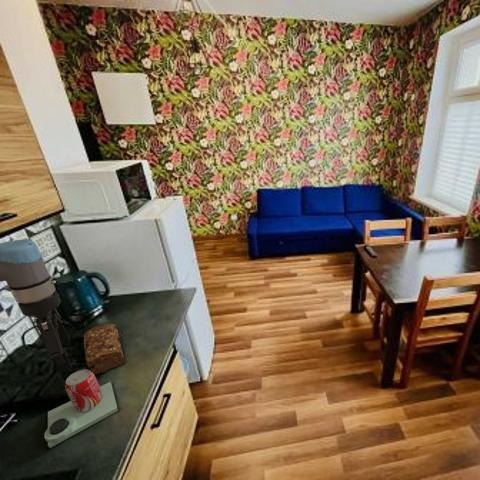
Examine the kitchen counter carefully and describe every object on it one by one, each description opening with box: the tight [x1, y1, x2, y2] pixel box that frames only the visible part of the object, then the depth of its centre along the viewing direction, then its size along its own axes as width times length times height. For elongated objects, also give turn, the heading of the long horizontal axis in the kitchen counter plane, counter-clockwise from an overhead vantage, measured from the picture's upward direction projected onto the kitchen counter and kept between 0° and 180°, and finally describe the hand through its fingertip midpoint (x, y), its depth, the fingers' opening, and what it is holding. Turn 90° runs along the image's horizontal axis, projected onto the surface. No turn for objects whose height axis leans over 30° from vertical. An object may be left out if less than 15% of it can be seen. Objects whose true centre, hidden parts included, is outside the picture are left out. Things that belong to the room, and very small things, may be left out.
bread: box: [83, 323, 126, 376], centre depth 104 cm, size 19×11×10 cm, turn 40°
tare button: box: [50, 418, 68, 435], centre depth 77 cm, size 4×4×2 cm
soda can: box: [64, 368, 103, 412], centre depth 84 cm, size 7×7×12 cm
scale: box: [43, 381, 119, 449], centre depth 84 cm, size 16×14×3 cm
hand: (64, 356), depth 79 cm, fingers open, 13 cm apart
